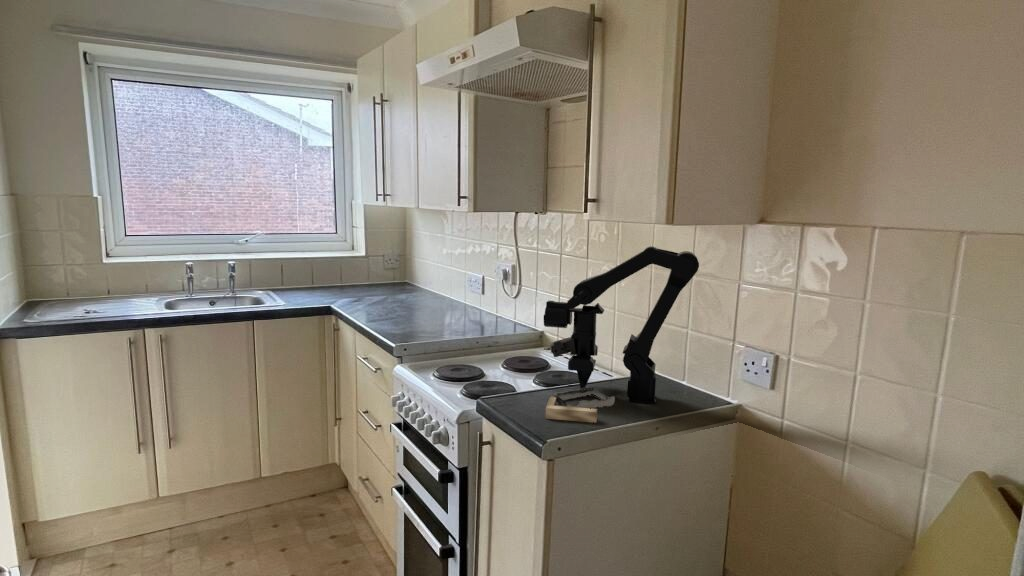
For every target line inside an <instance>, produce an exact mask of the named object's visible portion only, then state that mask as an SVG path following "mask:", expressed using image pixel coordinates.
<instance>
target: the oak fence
mask: <svg viewBox="0 0 1024 576" xmlns="http://www.w3.org/2000/svg"><path fill="white" fill-rule="evenodd" d="M545 419H547V420H559V421H571V422H581V423H593V422H594V424H595V423H597V422H598V421H597V420H598V408H591V409H590V408H577V407H565V406H561V405H557V403H556V397H555V396H549V399H548V401H547V404H546V407H545Z"/></svg>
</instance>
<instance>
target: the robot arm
mask: <svg viewBox="0 0 1024 576" xmlns="http://www.w3.org/2000/svg"><path fill="white" fill-rule="evenodd" d="M699 262H700V261H699V259H698V257H697V255H696V254H695V253H693V252H691V251H687V250H684V251H680V252H676V251H672V250H665V249H661V248H659V247H658V248H657V247H655V246H651V245H650V246H648V247H646V248H645V249H643V250H642V251H640V252H638V253H637V254H635V255H634V256H632V257H630V258H629V259H627V260H625V261H623V262H621V263H620V264H618V265H617V266H615V267H612V268H611V269H609V270H607V271H606V272H604V273H601V274H598V275H595V276H594V275H593V276H591V277H589V278H586V279H584V280H581V281H580V282H579V283H577V284H576V285H575V286H574V287H573V292H572V297H570V298H569V299H568V300H567V302H566V301H555V300H547V301H546V302H545V303H546V305H545V308H544V314H543V326H544V327H545V328H546V327H547V328H558V329H559V328H561V329H567V328H568V325H569V326H570V325H572V324H573V330H572V333H571V335H570V337H565V338H562V339H559V340H555V341H553V342H551V344H550V348H551V350H550V352H551V353H552V355H553V357H554V358H558V357H559V356H562V355H566V354H570V355H571V356H570V358H569V359H568V361H567V370H568V371H575V372H576V373H577V374H576V375H577V380H578V383H579V388H580V389H583V388H587V384H588V382H589V379H590V377H591V375H592V373H593V372H594V371H595V366H596V359H594V357H595V356H598V350H599V346H598V345H597V344H596V341H597V340H596V338H597V315H603V313H604V312H605V308H603V307H602V306H601V305H600V303H599V302H597V303H596V304H595V305H590V304H592V303H593V302H594V301H596V300H597V299H598V298H599V297H600V296H602V295H603V294H604V293H605V292H606V291H607V290H608V289H610V288H611V287H612V286H615V285H616V284H618V283H620V282H621V281H623V280H625V279H627V278H629V277H630V276H632V275H634V274H636V273H637V272H639V271H641V270H643V269H644V268H647V267H648V266H650V265H656V266H659V267H660V268H661V267H662V268H664V269H669V270H670V272H669V274H668V278H667V282H666V283H665V286H664V288H663V290H662V292H661V294H660V295H659V297H658V299H657V300H656V302H655V304H654V307H653V308H652V310H651V312H650V313H649V316H648V318H647V319H646V322H645V324H644V326H643V327H642V329H641V331H640V332H639V333H638V334H637V335H636V336H635V335H634V334H632V333H631V334H630V337H629V340H628V342H627V344H626V345H624V346H623V347H624V348H623V350H622V354H623V358H622V362H623V364H624V366H625V368H626V369H627V370H629V377H628V378H627V379H626V380H627V383H626V386H627V387H626V397H627V398H628V402H631V403H632V402H634V403H645V404H656V403H657V402H656V401H657V400H656V388H657V387H656V384H657V383H656V382H657V381H656V380H657V377H656V365H657V364H656V363H655V362H654V361H653V359H651V357H650V354H651V350H652V348H653V344H654V341H655V339H656V337H657V335H658V333H659V331H660V329H661V327H662V326H663V324H664V322H665V321H666V319H667V317H668V315H669V313H670V311H671V309H672V307H673V305H674V304H675V302H676V300H677V299H678V297H679V294H680V293H681V292H682V291H683V289H684V288H685V287H686V286H687V285H688V284H689V282H690V281H691V280H692V279H693V277H694V276H695V275H696V274H697V272H698V271H699V267H700V263H699ZM580 305H583V306H582V307H581V308H579V307H578V306H580ZM572 322H573V323H572ZM593 356H594V357H593Z"/></svg>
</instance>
